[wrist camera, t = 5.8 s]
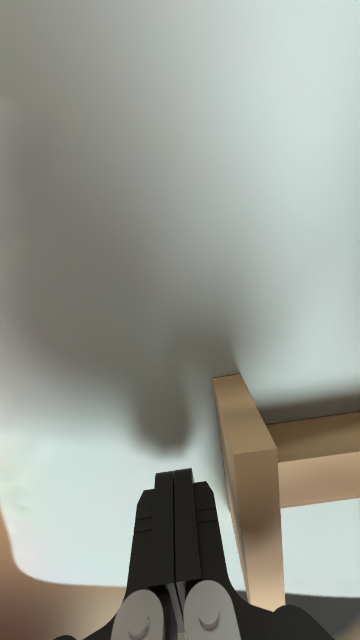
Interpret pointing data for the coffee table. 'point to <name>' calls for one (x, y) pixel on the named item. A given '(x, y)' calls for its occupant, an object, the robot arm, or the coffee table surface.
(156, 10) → the coffee table surface
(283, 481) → the drawer
